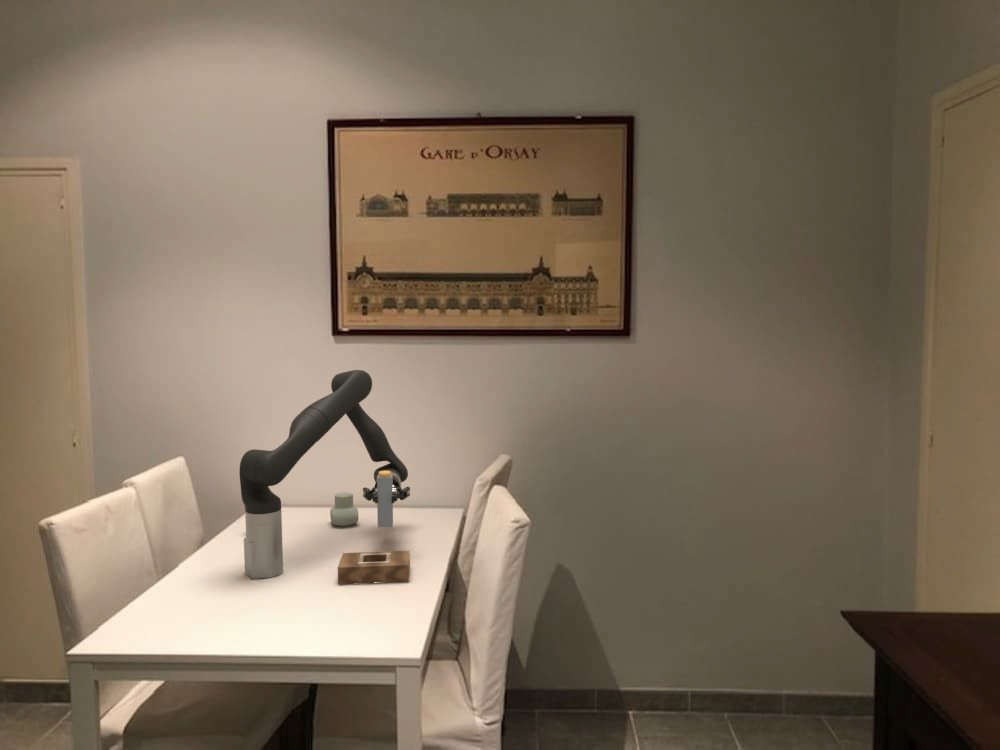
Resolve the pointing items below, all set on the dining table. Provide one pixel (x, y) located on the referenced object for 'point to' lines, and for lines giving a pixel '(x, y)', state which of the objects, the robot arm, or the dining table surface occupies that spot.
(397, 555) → the socket block
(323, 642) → the dining table surface
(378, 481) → the peg
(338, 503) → the air freshener
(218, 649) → the dining table surface
